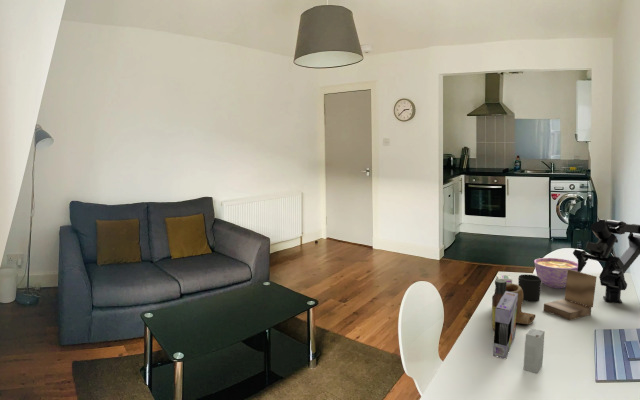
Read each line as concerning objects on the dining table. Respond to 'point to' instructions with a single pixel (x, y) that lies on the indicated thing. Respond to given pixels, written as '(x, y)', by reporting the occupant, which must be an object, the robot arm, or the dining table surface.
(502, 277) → the syrup box
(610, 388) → the dining table surface
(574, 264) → the bowl of food
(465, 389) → the dining table surface
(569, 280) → the case lid
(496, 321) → the cake pan box
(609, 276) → the robot arm
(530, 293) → the pen holder
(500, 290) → the sauce bottle
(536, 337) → the skincare box
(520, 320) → the tan boot
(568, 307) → the wooden case
